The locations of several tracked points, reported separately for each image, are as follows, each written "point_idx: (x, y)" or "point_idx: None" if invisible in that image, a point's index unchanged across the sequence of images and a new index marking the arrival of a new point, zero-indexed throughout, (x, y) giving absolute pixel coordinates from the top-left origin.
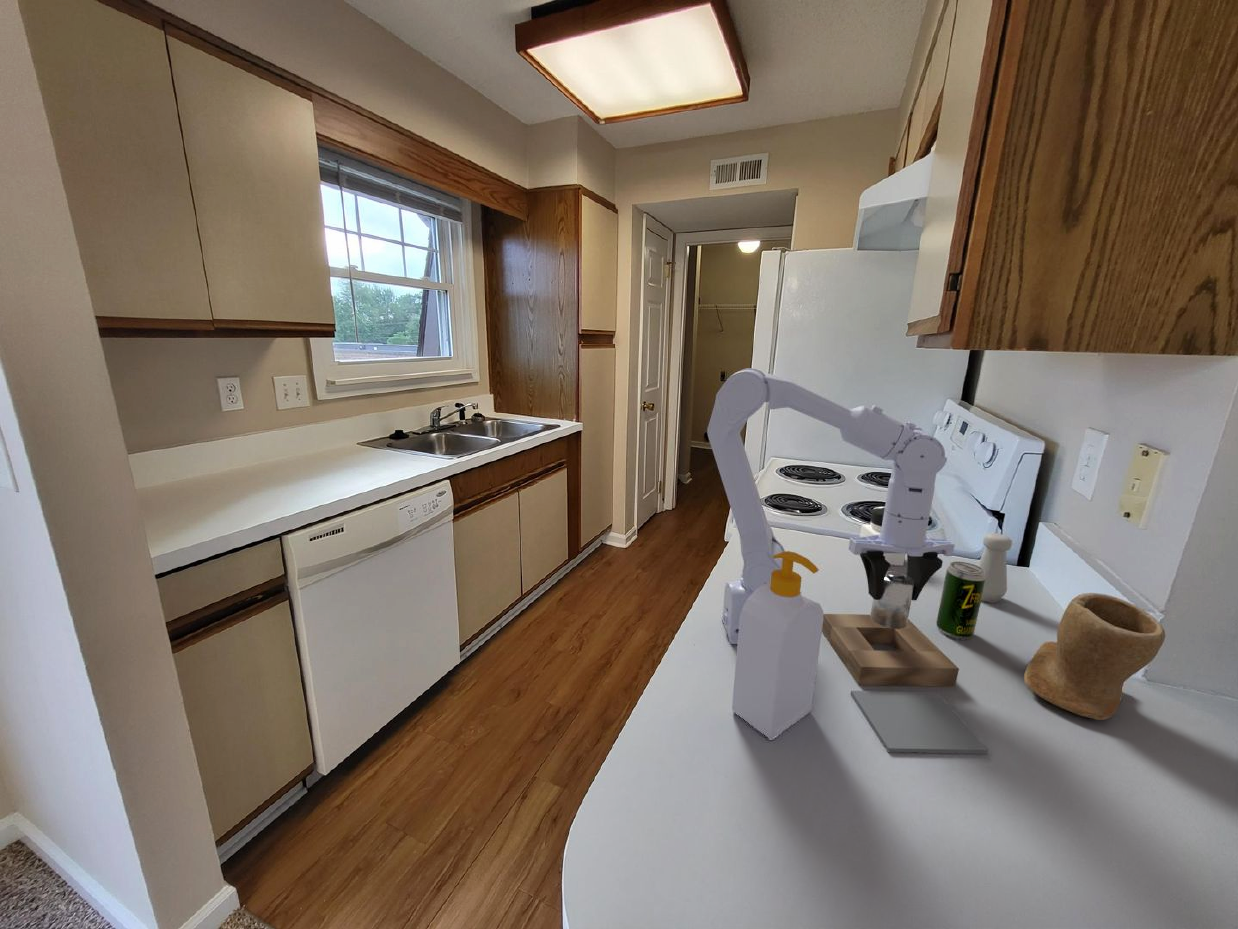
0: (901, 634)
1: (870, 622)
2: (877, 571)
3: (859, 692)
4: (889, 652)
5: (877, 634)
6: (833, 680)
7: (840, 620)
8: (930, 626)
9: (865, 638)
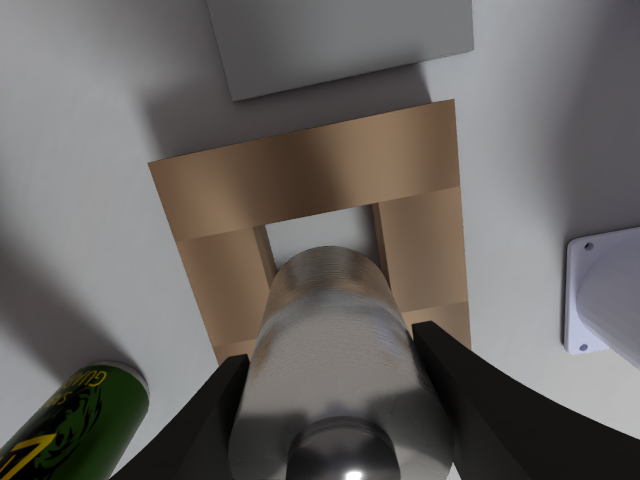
0: None
1: None
2: (616, 444)
3: (452, 46)
4: (335, 202)
5: None
6: (493, 109)
7: None
8: (165, 400)
9: None
